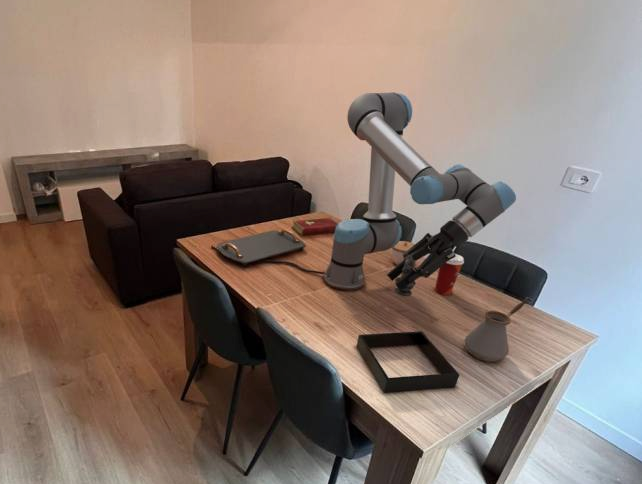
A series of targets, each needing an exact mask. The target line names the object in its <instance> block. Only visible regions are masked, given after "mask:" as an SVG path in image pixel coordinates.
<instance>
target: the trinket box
mask: <svg viewBox="0 0 642 484" xmlns="http://www.w3.org/2000/svg"><path fill="white" fill-rule="evenodd" d="M415 244H416V243H413V242H410V241H405V240H399V242H398V243H397V245H395V246H394V247H393V248H390V257H391V261H392V262H393V263H394V264H395V265H396V266H397V265H398V264H399V263H400V262H402V261H403V260H404V257H403V254H404V253H405V252H406V251H407V250H409V249H410V248H411V247H413V246H414V245H415Z"/></svg>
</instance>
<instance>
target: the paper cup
mask: <svg viewBox="0 0 642 484" xmlns="http://www.w3.org/2000/svg"><path fill="white" fill-rule="evenodd" d="M454 254H455V255H456V257H455V258H453V259H451V260H449V261H447V262H446V263H445V264H444V265H442V266H441V267H440V268H439V269H438V273H437V277H436V282H435V286H434V291H435V293H436V294H439V295H442V296H443V295H444V296H448V295H451V293H452V291H453V289H454V286H455V284H456V282H457V279H458V276H459V274H460V271H461V268H462V266H463V264H465V259H464V257H463V256H462V255H460V254H457V253H454Z"/></svg>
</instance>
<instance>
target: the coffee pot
mask: <svg viewBox="0 0 642 484" xmlns="http://www.w3.org/2000/svg"><path fill="white" fill-rule="evenodd" d="M530 300H531V301H530ZM533 302H534V299H533V298H531V296H525V298H524V299H522V301H521V302H520V303H518V304H516V305H515V306H514V307H513V308H512V309H511V311H510V312H508V313H507V314H506V313H504V312H501V311H498V310H486V311H485V312H484V317H485V318H484V319H483V321H482V322H481V323H479V324H478V325H477V326H476V327H475V328H474V329H473V330H472V331H471V332H469V333H468V334H467V335H466V336H465V337H464V347H465V348H466V350H467V351H468V352H469V354H470V355H471V356H472V357H474V358H476V359H477V360H481V361H483V362H488V363H491V362H492V363H493V362H497V361H502V360H504V359H505V358H506V357H507V356H508V355H509V353H510V350H509V341H508V334H507V326H508V325H511V323H512V322H511V321H512V319H511V316H513V315H514V314H515V313H517V312H518V311H519V310H520V309H522V307H523V306H524V305H526V304H527V303H528V304H529V303H530V304H533Z"/></svg>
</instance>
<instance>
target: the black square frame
mask: <svg viewBox="0 0 642 484" xmlns="http://www.w3.org/2000/svg"><path fill="white" fill-rule="evenodd" d="M405 346H417V347H418V348H419V349H420V351H422V353H423V354H424V355H425V357H426V358H427V359H428V360H429V361H430V363H431V364H432V365H433V367H434V368H435V369H436V370H437V372H438V373H435V374H421V375H410V376H409V375H407V376H393V377H389V376H388V374H387V372H386V371H385V370H384V368H383V366H382V365H381V364H380V362H379V360H378V358H377V357H376V356H375V354H374V352H373V351H372V349H373V348H388V347H391V348H392V347H405ZM356 349H357V351H358V353H359V354H360V356H361V358H362V359H363V361H364V363H365V364H366V366H367V368H368V369H369V371H370V373H371V374H372V376H373V378H374V380H375V381H376V383H377V385H378V387H379V388H380V390H381V392H382V393H383V394H394V393H405V392H406V393H408V392H420V391H421V392H422V391H432V390H433V391H434V390H445V389H446V390H447V389H456V386H457V384H458V381H459V378H460V373H459V372H458V371H457V370H456V369H455V367H453V365H452V363H450V362H449V360H448V359H447V358H446V357H445V356H444V355H443V354H442V352H440V349H438V348H437V347H436V346H435V344H434V343H433V342H432V341H431V340H430V339H429V337H428V336H427V335H426V334H425V333H424V332H423V330H417V331H416V330H415V331H399V332H398V331H397V332H383V333H366V334H365V333H364V334H358V336H357V341H356Z"/></svg>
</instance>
